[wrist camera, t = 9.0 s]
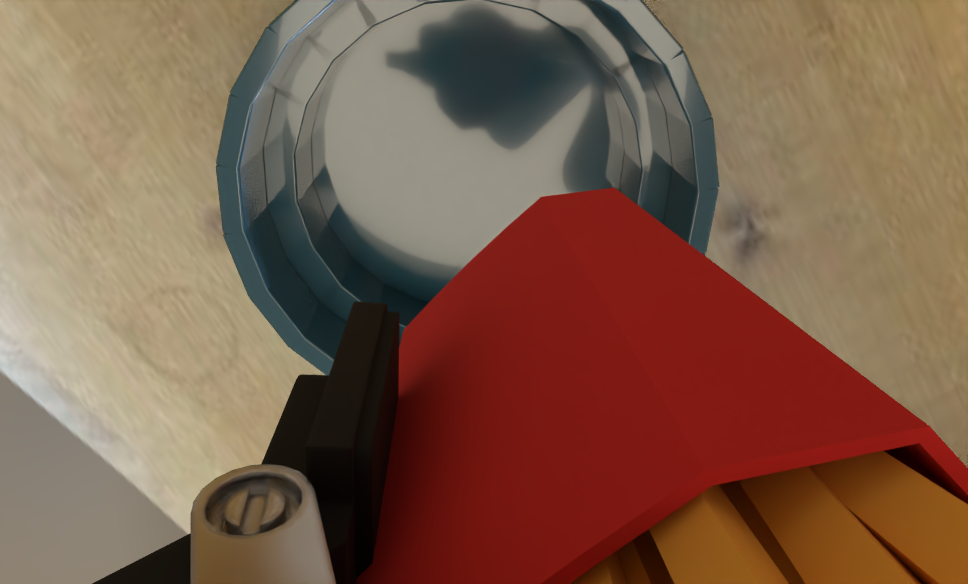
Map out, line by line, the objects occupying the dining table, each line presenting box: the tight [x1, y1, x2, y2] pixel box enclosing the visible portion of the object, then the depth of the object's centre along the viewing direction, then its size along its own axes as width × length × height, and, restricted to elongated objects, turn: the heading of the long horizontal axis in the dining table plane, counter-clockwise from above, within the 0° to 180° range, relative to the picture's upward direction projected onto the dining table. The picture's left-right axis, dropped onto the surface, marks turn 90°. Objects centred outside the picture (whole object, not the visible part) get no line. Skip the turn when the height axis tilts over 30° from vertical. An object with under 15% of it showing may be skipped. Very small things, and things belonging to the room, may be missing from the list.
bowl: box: [216, 0, 719, 376], centre depth 28 cm, size 18×18×7 cm
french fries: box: [355, 188, 968, 584], centre depth 9 cm, size 8×4×12 cm, turn 136°
